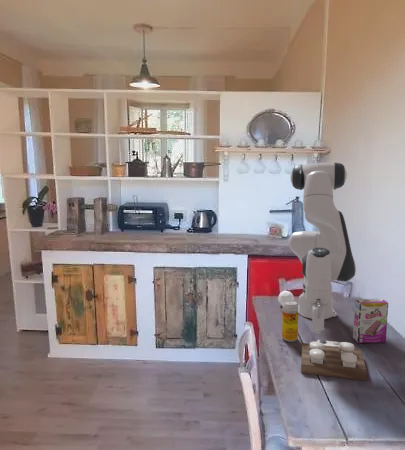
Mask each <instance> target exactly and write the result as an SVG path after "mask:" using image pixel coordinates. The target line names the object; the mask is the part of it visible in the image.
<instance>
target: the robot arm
mask: <svg viewBox="0 0 405 450" xmlns="http://www.w3.org/2000/svg"><path fill="white" fill-rule="evenodd" d="M347 176H348V174H347V170H346V168H345V165H344V164H343V163H341V162H318V163H317V162H316V163H307V164H297V165H295V166H293V168H292V170H291V173H290V182H291V185H292V187H294V189H295V190H300V191H302V190H303V198H302V199H303V201H302V202H303V212H304V218H305V220H306V222H308V224H310V225H312V226H314V227H316V229H317V230H318V231H315V230H311V231H310V230H301V231H295V232H292V233H291V235H290V236H289V237H288V247H289V249H290V251H291V252H292V253H293V254H295V255H296V257H297V258H298V259H299V261H300V262H301V265H302V267H301V268H302V269H301V274H302V275H303V284H302V293H300V295H299V296H298V315H300V316H302V317H304V318H306V319H311V320H312V321H311V322H312V324H311V325H312V326H311V327H312V330H313V331H314V333H315V334H317V335H320V334H321V332H324V330H325V320H327V319H330V318H333V317H334V318H335V317H337V316H338V314H337V312H336V310H335V309H334V298H333V296H332V293H333V291H332V290H333V286H332V281H337V282H344V283H347V282H350V281H351V280H352V279H353V278H354V277H355V275H356V271H357V266H356V262H355V259H354V256H353V253H352V248H351V244H350V239H349V238H350V237H349V233H348V229H347V224H346V220H345V217H344V214H343V213H342V211H340V210H338V209H337V208H336V206H335V202H334V191H335V190H337V189H340V188H342V187H343V186H345V183H346V181H347V178H348V177H347Z"/></svg>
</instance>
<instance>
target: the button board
mask: <svg viewBox="0 0 405 450" xmlns="http://www.w3.org/2000/svg"><path fill="white" fill-rule="evenodd" d="M301 345H302V346H301V361H300V363H301V364H300V373H303V374H309V375H317V376H318V375H319V376H324V377H331V378H340V379H341V378H342V379H348V380H354V381H355V380H356V381H363V382H367V381H368V380H367V378H368V377H367V376H368V371H367V367H366V363H365V360H364V356H363V352H362V349H360V348H354V352H353V354H355V355H356V356H357V363H356V368H351V367H343V366H342V361H341V354H340V349H339V347H335V346H325V345H324V350H323V351H324V353H325V358H324V359H323V364H318V363H311V358H310V343H307V342H306V343H304V342H302V343H301Z"/></svg>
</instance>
